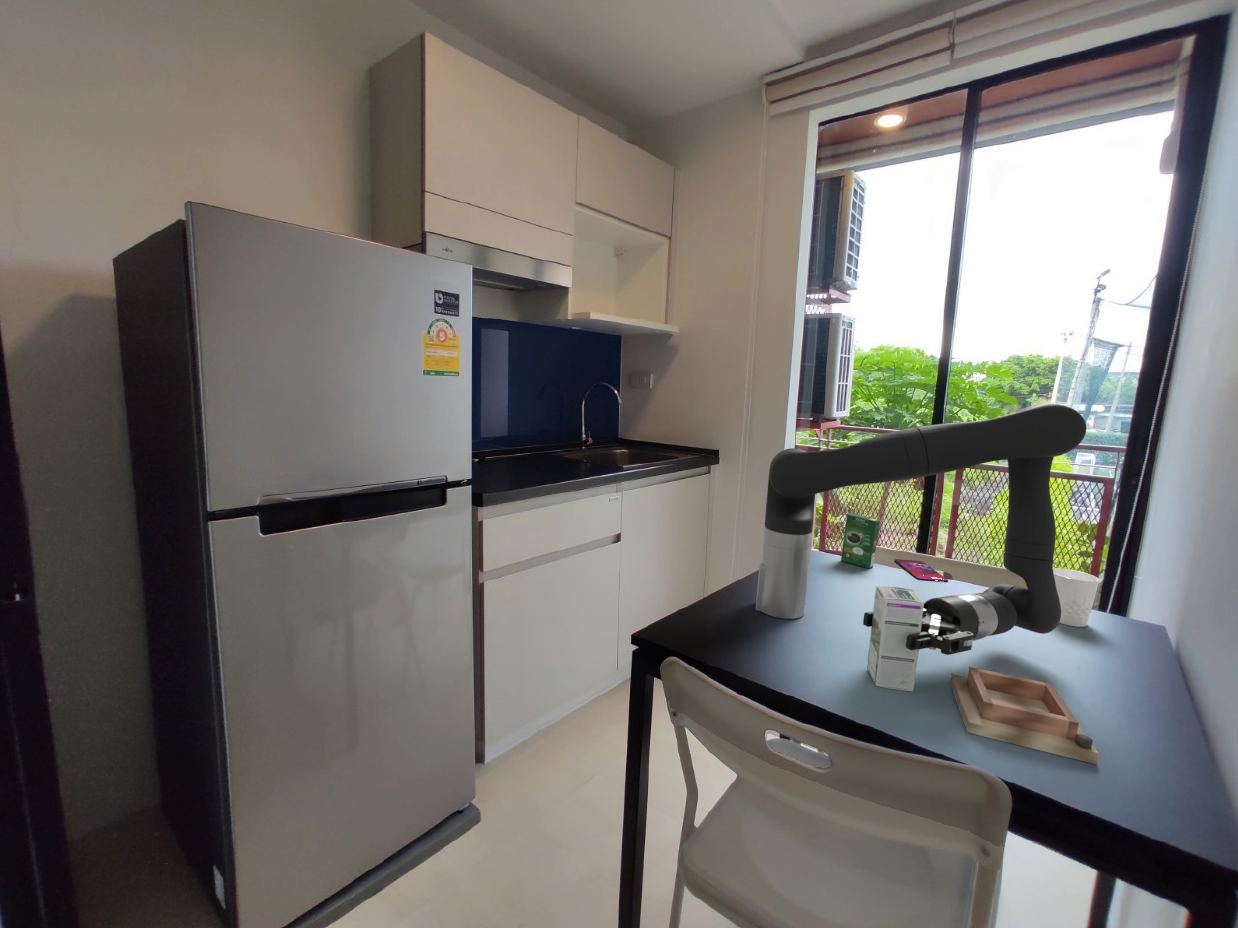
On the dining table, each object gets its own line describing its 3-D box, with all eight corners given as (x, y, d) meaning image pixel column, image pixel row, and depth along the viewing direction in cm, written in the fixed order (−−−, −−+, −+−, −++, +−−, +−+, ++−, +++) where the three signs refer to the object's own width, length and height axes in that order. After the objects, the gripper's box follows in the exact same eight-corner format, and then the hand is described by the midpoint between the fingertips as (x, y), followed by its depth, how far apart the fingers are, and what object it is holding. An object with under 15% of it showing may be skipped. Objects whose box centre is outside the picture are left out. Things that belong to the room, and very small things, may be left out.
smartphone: (917, 578, 134) (893, 558, 149) (916, 581, 134) (892, 561, 149) (950, 580, 133) (922, 560, 148) (949, 584, 133) (922, 563, 148)
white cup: (1032, 612, 117) (1040, 567, 115) (1066, 612, 118) (1074, 568, 116) (1065, 628, 109) (1073, 581, 108) (1101, 628, 110) (1110, 581, 108)
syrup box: (914, 692, 83) (927, 602, 81) (873, 686, 84) (884, 597, 82) (903, 673, 88) (914, 588, 86) (864, 668, 89) (875, 584, 87)
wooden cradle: (967, 732, 73) (971, 704, 73) (949, 682, 86) (953, 658, 86) (1096, 764, 68) (1102, 735, 68) (1058, 705, 81) (1062, 681, 80)
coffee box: (875, 567, 142) (881, 518, 140) (870, 569, 140) (876, 520, 138) (844, 559, 148) (850, 512, 146) (840, 561, 146) (845, 513, 144)
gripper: (923, 581, 96) (853, 590, 90) (1006, 614, 83) (930, 627, 77) (918, 621, 97) (848, 633, 91) (998, 660, 84) (923, 677, 78)
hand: (885, 630), depth 84 cm, fingers closed on syrup box, 7 cm apart
